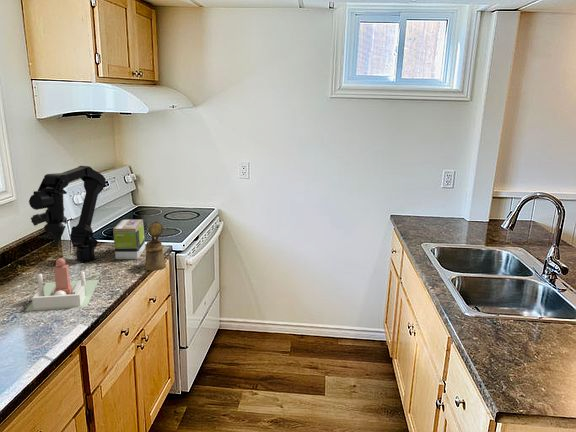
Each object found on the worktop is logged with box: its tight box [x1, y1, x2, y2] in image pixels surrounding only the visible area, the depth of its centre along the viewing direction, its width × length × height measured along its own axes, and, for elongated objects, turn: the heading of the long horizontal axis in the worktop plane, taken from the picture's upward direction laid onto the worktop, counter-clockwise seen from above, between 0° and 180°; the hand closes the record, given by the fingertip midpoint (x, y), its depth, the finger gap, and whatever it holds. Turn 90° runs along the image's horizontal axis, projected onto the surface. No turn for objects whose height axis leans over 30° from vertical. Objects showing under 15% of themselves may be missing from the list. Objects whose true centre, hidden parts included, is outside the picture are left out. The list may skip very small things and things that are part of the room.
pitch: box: [25, 279, 100, 312], centre depth 159 cm, size 24×19×2 cm
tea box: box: [112, 219, 146, 260], centre depth 201 cm, size 15×10×15 cm, turn 5°
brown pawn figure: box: [144, 221, 167, 272], centre depth 187 cm, size 9×14×18 cm, turn 8°
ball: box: [54, 290, 67, 296], centre depth 152 cm, size 4×4×4 cm
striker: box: [53, 257, 73, 295], centre depth 155 cm, size 4×5×14 cm
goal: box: [31, 271, 87, 309], centre depth 152 cm, size 9×15×9 cm, turn 103°
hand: (57, 244), depth 174 cm, fingers closed
